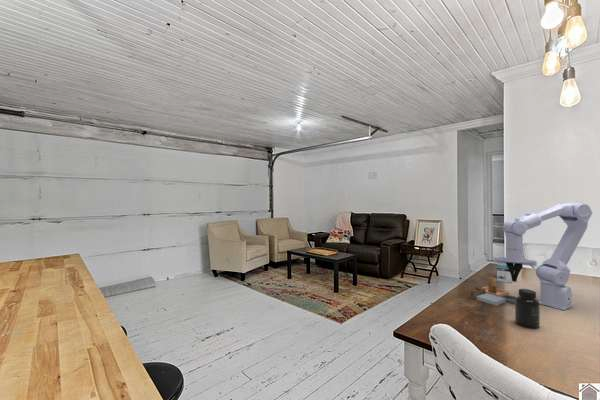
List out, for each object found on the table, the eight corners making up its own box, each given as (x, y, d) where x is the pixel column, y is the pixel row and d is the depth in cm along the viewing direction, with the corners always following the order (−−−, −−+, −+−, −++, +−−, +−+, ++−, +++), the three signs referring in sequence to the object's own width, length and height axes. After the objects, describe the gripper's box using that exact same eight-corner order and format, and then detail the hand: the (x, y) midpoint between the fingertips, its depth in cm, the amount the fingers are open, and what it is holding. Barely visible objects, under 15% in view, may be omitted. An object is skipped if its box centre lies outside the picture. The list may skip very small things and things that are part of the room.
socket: (523, 301, 123) (523, 298, 123) (514, 304, 120) (514, 301, 120) (505, 296, 129) (505, 293, 129) (496, 299, 126) (496, 296, 126)
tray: (508, 295, 131) (508, 291, 131) (498, 299, 126) (498, 294, 126) (487, 289, 139) (487, 286, 139) (476, 292, 134) (476, 289, 134)
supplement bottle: (537, 322, 102) (537, 289, 102) (541, 330, 96) (541, 295, 96) (513, 318, 106) (513, 286, 106) (516, 326, 100) (516, 292, 100)
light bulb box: (512, 283, 149) (512, 262, 148) (496, 281, 153) (496, 261, 152) (512, 278, 157) (512, 259, 157) (497, 276, 161) (497, 257, 161)
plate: (505, 303, 123) (505, 298, 123) (496, 306, 119) (495, 301, 119) (486, 297, 130) (486, 293, 130) (476, 300, 126) (476, 296, 126)
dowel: (498, 293, 131) (498, 278, 131) (493, 294, 130) (493, 279, 130) (491, 291, 134) (491, 276, 134) (486, 292, 133) (486, 277, 133)
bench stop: (485, 296, 129) (485, 286, 129) (475, 299, 126) (475, 289, 125) (480, 295, 131) (480, 285, 131) (470, 298, 127) (470, 288, 127)
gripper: (534, 248, 119) (534, 281, 120) (492, 246, 127) (492, 276, 127) (537, 251, 113) (537, 285, 114) (493, 248, 121) (493, 280, 121)
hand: (514, 281), depth 120 cm, fingers closed
